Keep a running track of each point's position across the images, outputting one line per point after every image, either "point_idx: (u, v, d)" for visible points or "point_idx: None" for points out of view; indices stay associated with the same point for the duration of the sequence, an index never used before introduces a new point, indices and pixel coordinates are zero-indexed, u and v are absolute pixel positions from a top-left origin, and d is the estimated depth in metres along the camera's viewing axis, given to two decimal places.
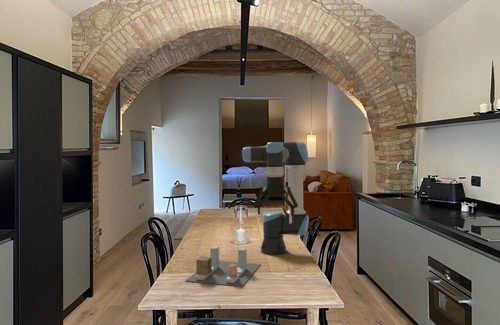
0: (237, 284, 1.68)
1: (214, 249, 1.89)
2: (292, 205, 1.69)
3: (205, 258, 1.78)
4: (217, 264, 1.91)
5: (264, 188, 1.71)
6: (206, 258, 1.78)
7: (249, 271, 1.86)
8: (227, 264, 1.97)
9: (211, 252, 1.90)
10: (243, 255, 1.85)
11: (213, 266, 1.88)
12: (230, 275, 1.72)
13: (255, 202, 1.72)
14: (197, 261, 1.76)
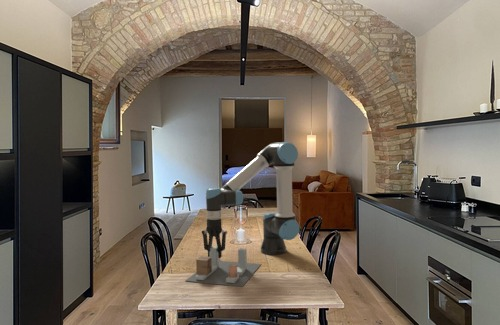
0: (237, 284, 1.68)
1: (214, 249, 1.89)
2: (220, 248, 1.91)
3: (205, 258, 1.78)
4: None
5: (205, 231, 1.92)
6: (206, 258, 1.78)
7: (249, 271, 1.86)
8: (227, 264, 1.97)
9: (211, 252, 1.90)
10: (243, 255, 1.85)
11: (213, 266, 1.88)
12: (230, 275, 1.72)
13: (204, 246, 1.92)
14: (197, 261, 1.76)
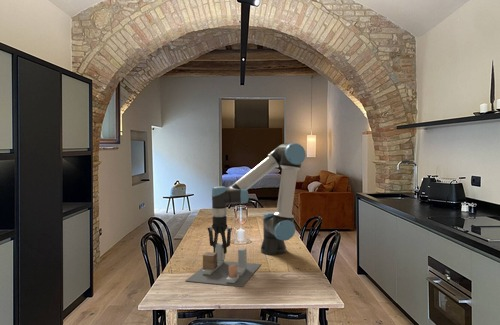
0: (237, 284, 1.68)
1: (219, 245, 1.97)
2: None
3: (211, 254, 1.85)
4: (222, 260, 1.98)
5: (210, 228, 1.99)
6: (212, 254, 1.85)
7: (249, 271, 1.86)
8: (227, 264, 1.97)
9: (217, 248, 1.97)
10: (243, 255, 1.85)
11: (218, 261, 1.95)
12: (230, 275, 1.72)
13: (210, 242, 1.99)
14: (203, 256, 1.84)
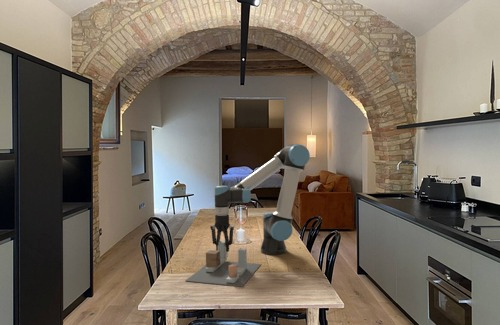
0: (237, 284, 1.68)
1: (222, 243, 2.00)
2: None
3: (214, 251, 1.89)
4: None
5: (213, 226, 2.03)
6: (215, 251, 1.89)
7: (249, 271, 1.86)
8: (227, 264, 1.97)
9: (219, 246, 2.01)
10: (243, 255, 1.85)
11: (221, 259, 1.99)
12: (230, 275, 1.72)
13: (213, 240, 2.03)
14: (207, 254, 1.87)
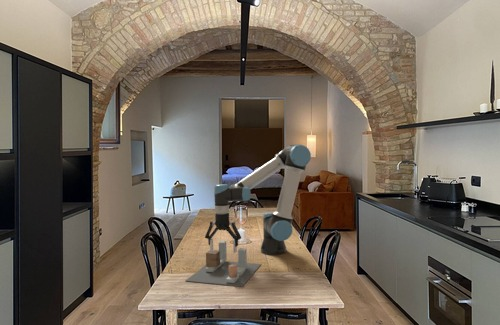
0: (237, 284, 1.68)
1: (222, 243, 2.00)
2: (236, 237, 2.01)
3: (214, 251, 1.89)
4: (225, 257, 2.02)
5: (213, 223, 2.03)
6: (215, 251, 1.89)
7: (249, 271, 1.86)
8: (227, 264, 1.97)
9: (219, 246, 2.01)
10: (243, 255, 1.85)
11: (221, 259, 1.99)
12: (230, 275, 1.72)
13: (206, 234, 2.04)
14: (207, 254, 1.87)
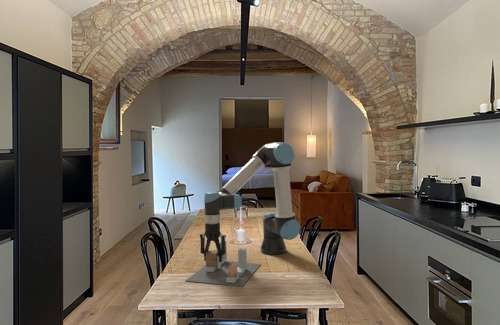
0: (237, 284, 1.68)
1: None
2: None
3: (214, 251, 1.89)
4: (225, 257, 2.02)
5: (203, 235, 1.90)
6: (215, 251, 1.89)
7: (249, 271, 1.86)
8: (227, 264, 1.97)
9: None
10: (243, 255, 1.85)
11: None
12: (230, 275, 1.72)
13: (201, 249, 1.90)
14: (207, 254, 1.87)
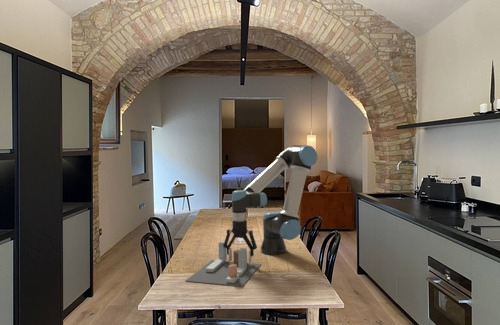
0: (237, 284, 1.68)
1: (222, 243, 2.00)
2: None
3: None
4: (225, 257, 2.02)
5: (230, 231, 1.97)
6: None
7: (249, 271, 1.86)
8: (227, 264, 1.97)
9: (219, 246, 2.01)
10: (243, 255, 1.85)
11: (221, 259, 1.99)
12: (230, 275, 1.72)
13: (224, 244, 1.97)
14: (234, 253, 1.94)
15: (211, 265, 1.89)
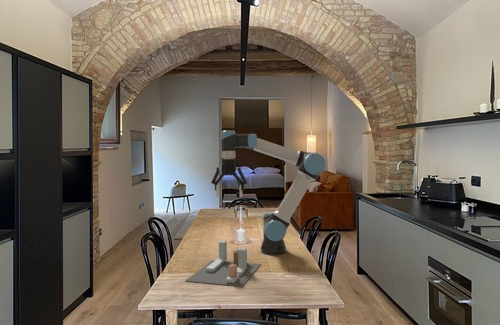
0: (237, 284, 1.68)
1: (222, 243, 2.01)
2: (242, 182, 2.06)
3: None
4: (225, 257, 2.02)
5: (220, 168, 2.08)
6: None
7: (249, 271, 1.86)
8: (227, 264, 1.97)
9: (219, 246, 2.01)
10: (243, 255, 1.85)
11: (221, 259, 1.99)
12: (230, 275, 1.72)
13: (212, 180, 2.08)
14: (234, 253, 1.94)
15: (211, 265, 1.90)
